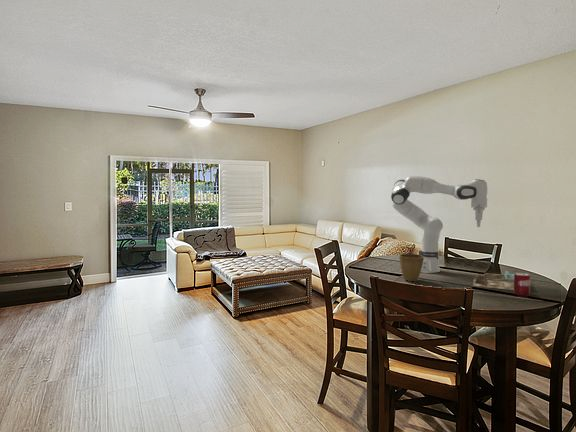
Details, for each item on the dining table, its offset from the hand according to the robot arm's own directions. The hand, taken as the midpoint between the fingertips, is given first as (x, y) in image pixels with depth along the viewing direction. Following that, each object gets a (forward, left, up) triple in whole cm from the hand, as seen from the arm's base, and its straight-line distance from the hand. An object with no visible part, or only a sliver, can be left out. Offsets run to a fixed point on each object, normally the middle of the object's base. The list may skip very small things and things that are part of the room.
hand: (478, 226), depth 216 cm
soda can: (+21, -31, -34) cm, 51 cm away
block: (+1, -16, -33) cm, 36 cm away
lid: (+18, -16, -28) cm, 37 cm away
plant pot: (-37, -23, -34) cm, 55 cm away
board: (+10, -16, -34) cm, 39 cm away
